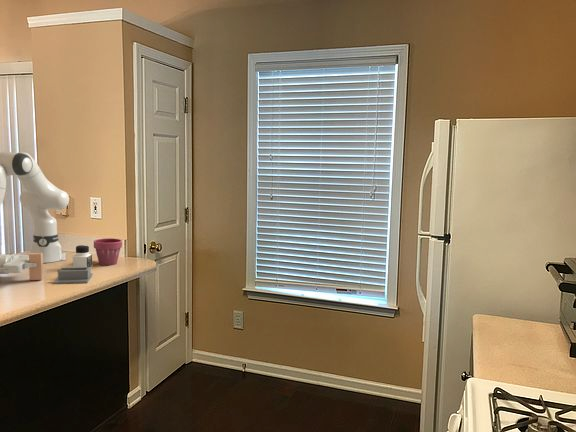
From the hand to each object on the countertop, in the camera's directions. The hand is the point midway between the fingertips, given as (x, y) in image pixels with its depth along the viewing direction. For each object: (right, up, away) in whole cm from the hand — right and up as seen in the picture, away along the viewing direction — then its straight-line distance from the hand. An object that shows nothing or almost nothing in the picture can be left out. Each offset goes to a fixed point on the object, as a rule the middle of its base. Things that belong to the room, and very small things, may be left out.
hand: (38, 263), depth 210 cm
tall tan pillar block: (-1, -7, +1) cm, 7 cm away
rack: (+14, -8, +4) cm, 17 cm away
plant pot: (+18, -4, +37) cm, 41 cm away
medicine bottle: (+9, -5, +25) cm, 27 cm away
